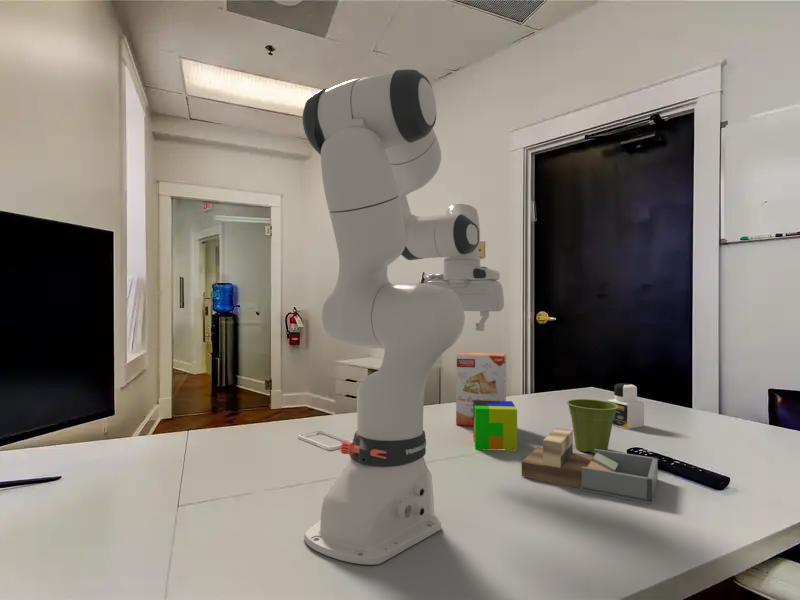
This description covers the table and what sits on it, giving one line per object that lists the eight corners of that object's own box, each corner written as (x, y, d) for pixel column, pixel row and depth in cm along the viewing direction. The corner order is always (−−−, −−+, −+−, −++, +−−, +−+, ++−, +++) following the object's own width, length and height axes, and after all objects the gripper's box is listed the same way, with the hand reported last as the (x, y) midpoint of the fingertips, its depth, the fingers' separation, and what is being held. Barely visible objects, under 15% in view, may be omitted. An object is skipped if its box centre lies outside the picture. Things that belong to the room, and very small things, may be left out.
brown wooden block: (582, 488, 94) (582, 472, 94) (521, 476, 100) (521, 461, 100) (593, 470, 104) (593, 456, 104) (537, 460, 110) (537, 447, 110)
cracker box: (455, 425, 141) (455, 353, 141) (459, 420, 147) (459, 351, 147) (504, 429, 137) (504, 355, 137) (506, 424, 143) (506, 353, 143)
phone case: (353, 446, 122) (320, 434, 133) (353, 441, 122) (320, 429, 133) (329, 452, 117) (297, 439, 128) (329, 447, 117) (297, 434, 128)
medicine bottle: (606, 423, 143) (606, 383, 143) (623, 421, 146) (623, 381, 146) (627, 429, 137) (627, 387, 137) (644, 426, 140) (644, 385, 140)
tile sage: (611, 478, 97) (615, 469, 97) (589, 466, 99) (593, 458, 99) (614, 471, 101) (618, 463, 101) (593, 460, 103) (596, 452, 103)
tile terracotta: (606, 488, 92) (610, 479, 91) (583, 476, 94) (587, 467, 94) (610, 481, 96) (614, 472, 95) (587, 469, 98) (591, 460, 97)
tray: (652, 503, 86) (652, 479, 86) (581, 490, 93) (581, 467, 93) (657, 479, 98) (657, 458, 98) (594, 468, 105) (594, 448, 105)
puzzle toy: (511, 439, 127) (511, 401, 127) (517, 450, 117) (517, 409, 117) (473, 438, 128) (473, 400, 128) (475, 449, 118) (475, 408, 118)
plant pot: (603, 460, 110) (603, 411, 110) (556, 448, 119) (556, 402, 119) (627, 450, 117) (627, 404, 117) (582, 439, 126) (582, 396, 127)
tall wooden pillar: (560, 468, 96) (560, 442, 96) (542, 464, 98) (542, 440, 98) (572, 453, 106) (572, 430, 106) (556, 450, 107) (556, 428, 107)
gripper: (418, 273, 121) (418, 329, 121) (496, 271, 110) (496, 332, 110) (430, 275, 126) (430, 328, 126) (506, 272, 115) (506, 330, 115)
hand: (461, 330), depth 118 cm, fingers open, 8 cm apart
